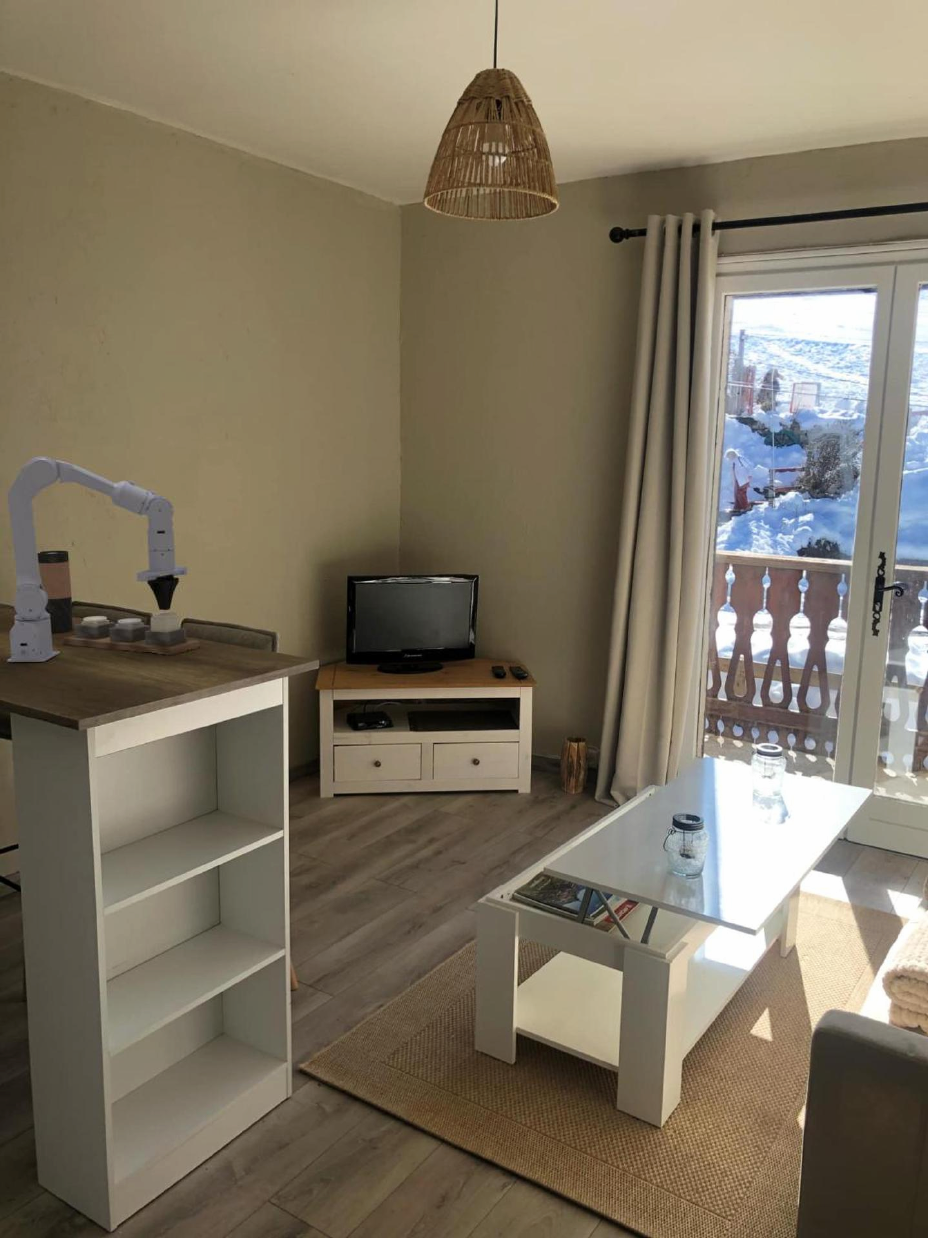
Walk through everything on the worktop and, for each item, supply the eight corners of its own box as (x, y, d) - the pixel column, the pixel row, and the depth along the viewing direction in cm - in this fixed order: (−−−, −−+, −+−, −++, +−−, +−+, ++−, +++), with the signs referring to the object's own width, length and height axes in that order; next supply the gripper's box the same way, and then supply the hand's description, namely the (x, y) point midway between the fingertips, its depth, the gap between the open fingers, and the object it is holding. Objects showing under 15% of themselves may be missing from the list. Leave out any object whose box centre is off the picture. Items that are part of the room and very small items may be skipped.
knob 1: (112, 634, 242) (111, 617, 241) (96, 638, 237) (95, 620, 237) (95, 633, 244) (94, 615, 244) (79, 636, 240) (78, 618, 239)
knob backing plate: (199, 647, 235) (199, 628, 234) (171, 655, 226) (170, 635, 225) (94, 637, 248) (93, 619, 247) (63, 644, 239) (61, 625, 238)
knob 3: (182, 631, 233) (181, 612, 233) (167, 635, 229) (166, 616, 228) (164, 629, 235) (163, 611, 235) (148, 633, 231) (147, 614, 230)
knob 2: (146, 637, 238) (145, 619, 237) (131, 641, 233) (130, 622, 232) (129, 635, 240) (128, 617, 239) (113, 639, 235) (112, 621, 235)
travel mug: (79, 630, 257) (74, 551, 254) (49, 634, 252) (44, 554, 249) (65, 626, 263) (60, 549, 259) (36, 630, 257) (30, 552, 254)
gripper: (153, 553, 221) (156, 615, 223) (196, 547, 234) (199, 606, 236) (128, 552, 224) (131, 613, 226) (172, 546, 237) (175, 604, 239)
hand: (164, 609), depth 231 cm, fingers closed
